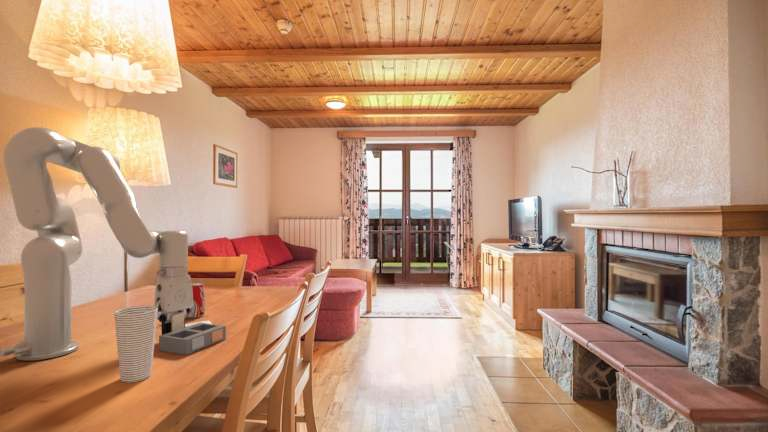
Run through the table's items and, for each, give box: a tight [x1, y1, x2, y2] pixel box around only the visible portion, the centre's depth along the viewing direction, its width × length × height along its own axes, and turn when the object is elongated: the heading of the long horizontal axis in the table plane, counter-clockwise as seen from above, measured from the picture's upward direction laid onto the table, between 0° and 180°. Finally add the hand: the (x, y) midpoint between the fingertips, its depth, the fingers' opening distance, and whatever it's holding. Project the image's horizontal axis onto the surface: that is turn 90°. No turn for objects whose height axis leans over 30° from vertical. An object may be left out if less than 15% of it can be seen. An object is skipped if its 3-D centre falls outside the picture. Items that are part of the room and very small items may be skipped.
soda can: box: [186, 282, 206, 319], centre depth 142 cm, size 7×7×12 cm
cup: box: [113, 305, 158, 383], centre depth 88 cm, size 8×8×16 cm
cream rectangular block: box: [165, 311, 184, 332], centre depth 115 cm, size 4×4×8 cm
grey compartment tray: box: [158, 323, 227, 356], centre depth 111 cm, size 14×10×4 cm
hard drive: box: [185, 320, 213, 327], centre depth 126 cm, size 2×8×12 cm
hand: (173, 332), depth 115 cm, fingers closed on cream rectangular block, 4 cm apart
